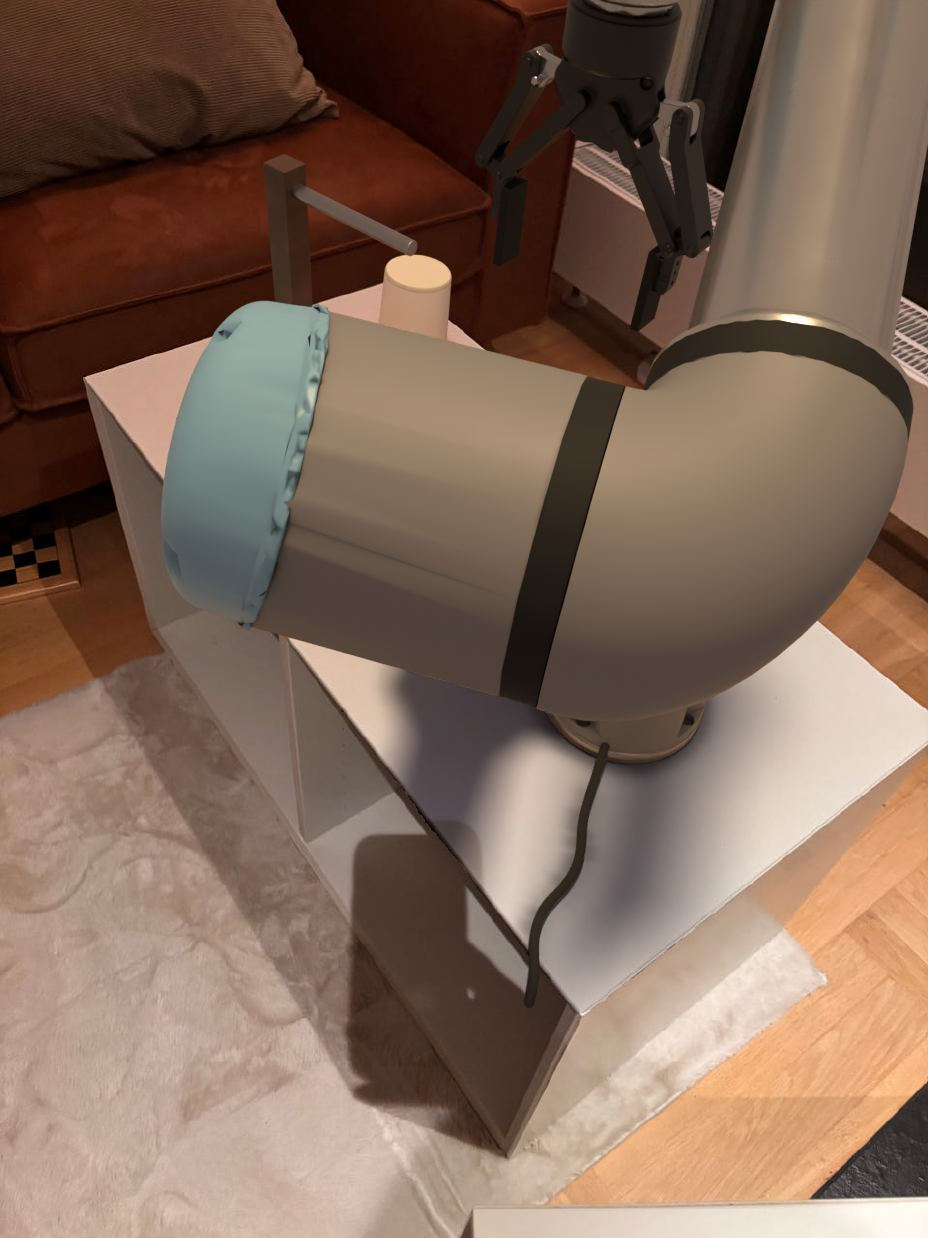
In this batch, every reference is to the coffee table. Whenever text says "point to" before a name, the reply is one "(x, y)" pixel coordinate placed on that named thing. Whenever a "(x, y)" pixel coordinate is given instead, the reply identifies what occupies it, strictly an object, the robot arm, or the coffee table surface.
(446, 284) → the beige cylinder
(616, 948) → the coffee table surface
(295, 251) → the peg stand
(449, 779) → the coffee table surface
